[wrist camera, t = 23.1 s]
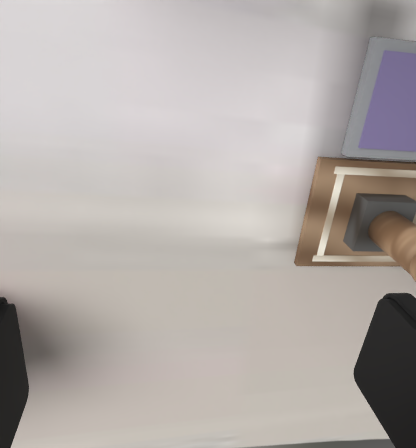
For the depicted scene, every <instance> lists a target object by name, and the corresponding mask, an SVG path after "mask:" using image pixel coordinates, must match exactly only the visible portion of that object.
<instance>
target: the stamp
mask: <svg viewBox="0 0 416 448" xmlns="http://www.w3.org/2000/svg"><path fill="white" fill-rule="evenodd" d="M415 214H416V201H415V200H413V199H412V198H410V197H408V196H406V195H394V194H369V193H356V197H355V200H354V204H353V207H352V211H351V214H350V218H349V222H348V225H347V229H346V232H345V236H344V239H343V242H344V243H345V244H346V245H347V246H348V247H349V248H350V249H351V250H352V251H368V252H385V253H386V254H388V255H389V256H390V257H391V258H392V259H393V260H394V261H396V262H397V263H398V264H399V265H400V266H401V267H403V268H404V269H405V270H406V271H407V272H408V273H409V274H411V275H412V277H413V279H414V280H415V281H416V224H414V223H413V219H414V217H415Z"/></svg>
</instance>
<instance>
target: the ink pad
mask: <svg viewBox="0 0 416 448" xmlns="http://www.w3.org/2000/svg"><path fill="white" fill-rule="evenodd" d="M341 154H343V155H345V156H347V157H364V158H381V159H398V160H416V41H407V40H399V39H391V38H382V37H370V41H369V45H368V49H367V53H366V57H365V60H364V64H363V68H362V72H361V76H360V80H359V84H358V88H357V92H356V96H355V100H354V104H353V108H352V112H351V116H350V120H349V124H348V128H347V132H346V136H345V140H344V144H343V148H342V152H341Z"/></svg>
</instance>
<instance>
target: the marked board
mask: <svg viewBox="0 0 416 448" xmlns="http://www.w3.org/2000/svg"><path fill="white" fill-rule="evenodd" d="M356 193H369V194H394V195H406V196H408V197H410V198H412V199H413V200H415V201H416V162H400V161H382V160H364V159H347V158H329V157H318V159H317V164H316V168H315V172H314V177H313V181H312V186H311V190H310V195H309V199H308V204H307V208H306V212H305V217H304V221H303V226H302V230H301V235H300V239H299V244H298V248H297V252H296V257H295V261H294V263H295V264H296V266H400V265H399V264H398V263H397V262H396V261H394V260H393V259H392V258H391V257H390V256H389V255H388V254H386V253H385V252H368V251H352V250H351V249H350V248H349V247H348V246H347V245H346V244H345V243H344V242H343V239H344V236H345V232H346V229H347V225H348V222H349V218H350V214H351V211H352V207H353V204H354V200H355V197H356ZM413 223H414V224H416V214H415V217H414V219H413Z"/></svg>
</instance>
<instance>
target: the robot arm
mask: <svg viewBox="0 0 416 448" xmlns="http://www.w3.org/2000/svg"><path fill="white" fill-rule="evenodd" d="M354 379H355V382H356V384H357V385H358V387H359V389H360V390H361V392H362V394H363V395H364V397H365V399H366V400H367V402H368V403H369V405H370V407H371V408H372V410H373V412H374V413H375V415H376V416H377V418H378V420H379V421H380V423H381V425H382V426H383V428H384V430H385V431H386V433H387V434H388V436H389V438H390V439H391V441H392V443H393V444H394V446H395V447H396V448H416V298H415V297H414V296H412V295H411V294H408V293H389V294H386V295H385V296H384V297H383V299H381V300H379V302H378V304H377V307H376V310H375V312H374V315H373V318H372V321H371V323H370V326H369V329H368V332H367V335H366V337H365V340H364V343H363V346H362V349H361V351H360V354H359V357H358V360H357V362H356V365H355V368H354ZM28 392H29V384H28V378H27V372H26V366H25V360H24V354H23V348H22V342H21V336H20V330H19V324H18V318H17V312H16V307H15V305H14V304H8V302H7V300H6V298H3V297H0V448H11V445H12V442H13V439H14V436H15V433H16V431H17V428H18V425H19V422H20V419H21V416H22V413H23V411H24V408H25V405H26V402H27V398H28Z"/></svg>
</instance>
